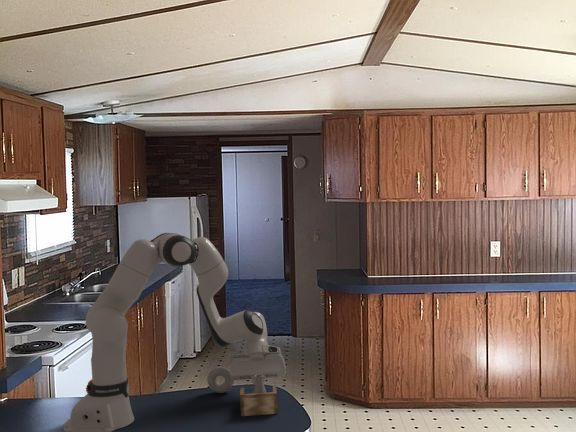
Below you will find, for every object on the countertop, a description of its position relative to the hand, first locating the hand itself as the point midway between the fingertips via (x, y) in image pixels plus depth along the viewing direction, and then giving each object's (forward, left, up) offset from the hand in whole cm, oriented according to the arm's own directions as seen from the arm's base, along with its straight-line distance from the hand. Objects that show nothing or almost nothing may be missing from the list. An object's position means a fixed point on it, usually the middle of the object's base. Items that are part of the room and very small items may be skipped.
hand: (259, 388), depth 222 cm
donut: (-14, +12, -5) cm, 19 cm away
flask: (0, -2, -5) cm, 5 cm away
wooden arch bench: (0, -7, -5) cm, 8 cm away
